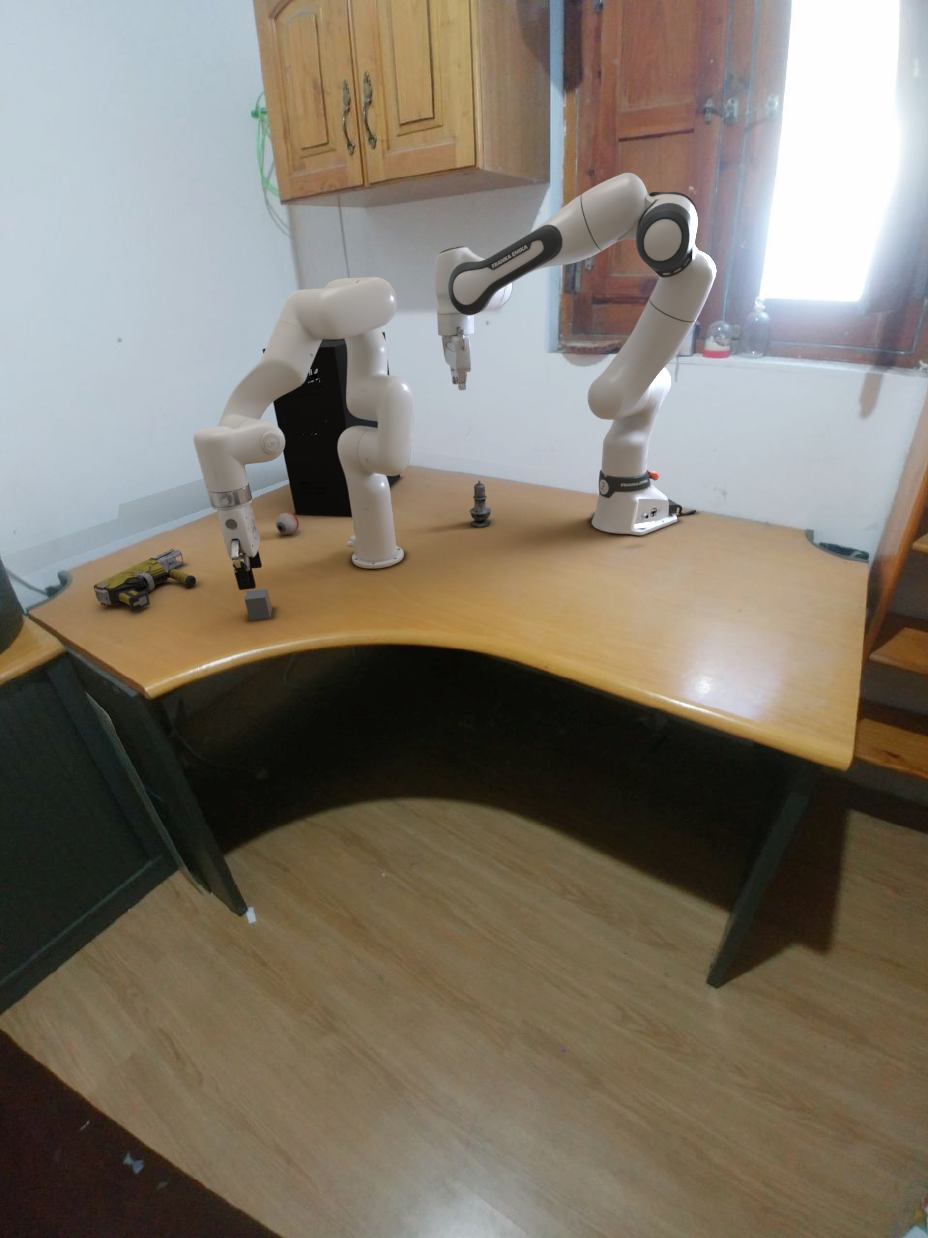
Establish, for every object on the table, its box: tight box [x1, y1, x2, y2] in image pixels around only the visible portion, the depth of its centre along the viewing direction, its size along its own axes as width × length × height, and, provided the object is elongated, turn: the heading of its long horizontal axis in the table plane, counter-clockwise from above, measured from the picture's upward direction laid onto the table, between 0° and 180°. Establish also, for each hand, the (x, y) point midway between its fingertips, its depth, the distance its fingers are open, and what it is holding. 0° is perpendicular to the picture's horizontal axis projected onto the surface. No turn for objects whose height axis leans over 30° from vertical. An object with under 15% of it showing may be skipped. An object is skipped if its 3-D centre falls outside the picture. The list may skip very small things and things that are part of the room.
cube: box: [244, 588, 273, 622], centre depth 125 cm, size 4×4×5 cm
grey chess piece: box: [469, 479, 492, 528], centre depth 162 cm, size 6×6×12 cm
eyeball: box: [275, 511, 300, 536], centre depth 163 cm, size 6×6×6 cm
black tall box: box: [262, 331, 401, 517], centre depth 181 cm, size 38×20×45 cm, turn 167°
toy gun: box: [93, 548, 197, 612], centre depth 139 cm, size 5×24×15 cm
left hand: (251, 577), depth 122 cm, fingers open, 9 cm apart
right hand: (459, 386), depth 152 cm, fingers open, 8 cm apart
